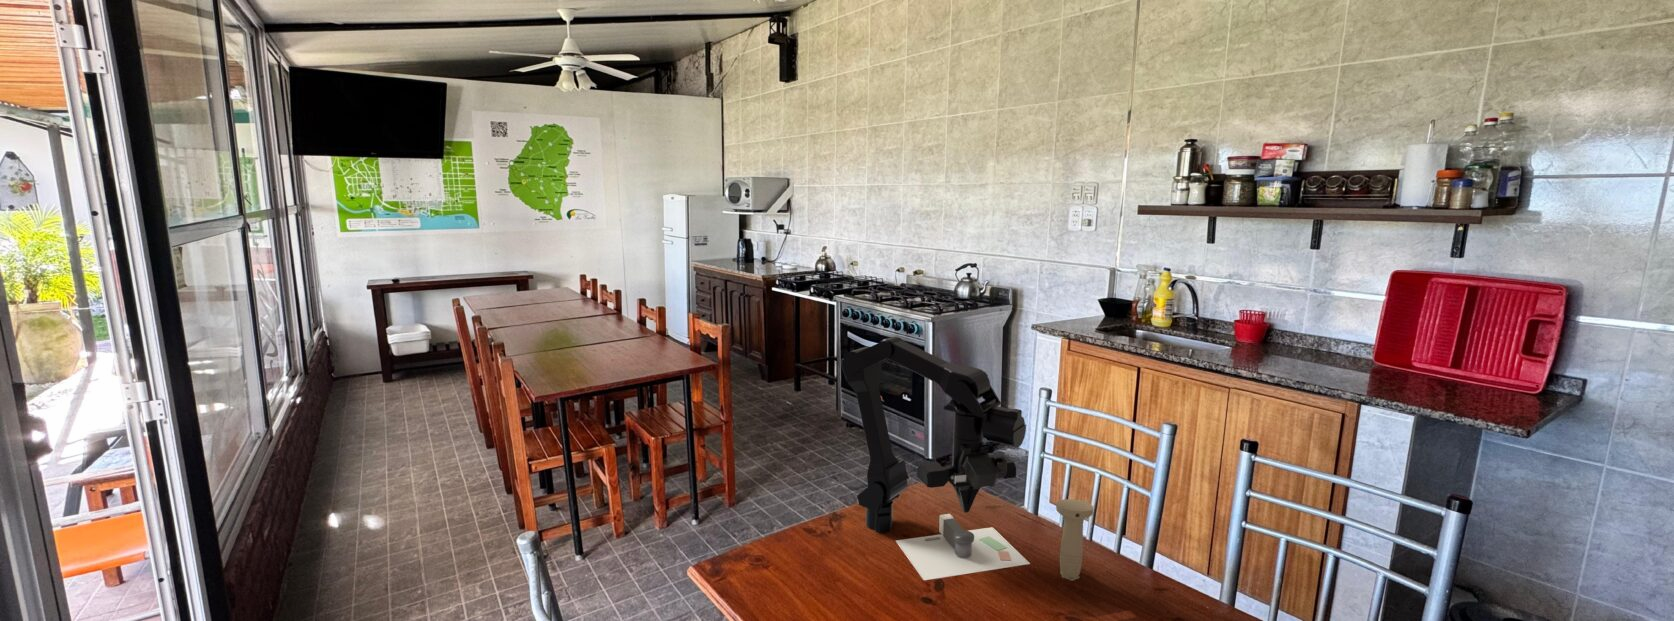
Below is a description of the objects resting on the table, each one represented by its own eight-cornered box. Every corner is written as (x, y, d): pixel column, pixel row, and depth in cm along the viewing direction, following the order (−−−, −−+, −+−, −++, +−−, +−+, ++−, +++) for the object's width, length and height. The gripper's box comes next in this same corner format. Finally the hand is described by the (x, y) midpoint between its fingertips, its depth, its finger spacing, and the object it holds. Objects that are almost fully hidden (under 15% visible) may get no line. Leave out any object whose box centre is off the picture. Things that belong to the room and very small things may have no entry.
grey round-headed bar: (977, 556, 134) (977, 538, 134) (958, 559, 133) (958, 541, 133) (952, 530, 145) (953, 513, 144) (935, 532, 144) (935, 515, 143)
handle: (1090, 588, 126) (1096, 512, 124) (1054, 586, 127) (1059, 510, 124) (1083, 574, 131) (1089, 500, 128) (1049, 572, 131) (1053, 498, 129)
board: (895, 545, 141) (895, 539, 141) (992, 531, 147) (992, 526, 147) (923, 585, 127) (923, 579, 127) (1029, 568, 133) (1030, 562, 133)
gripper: (940, 455, 121) (938, 537, 124) (1034, 445, 126) (1030, 524, 129) (916, 434, 132) (915, 510, 135) (1004, 425, 137) (1000, 499, 140)
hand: (965, 511), depth 134 cm, fingers closed
